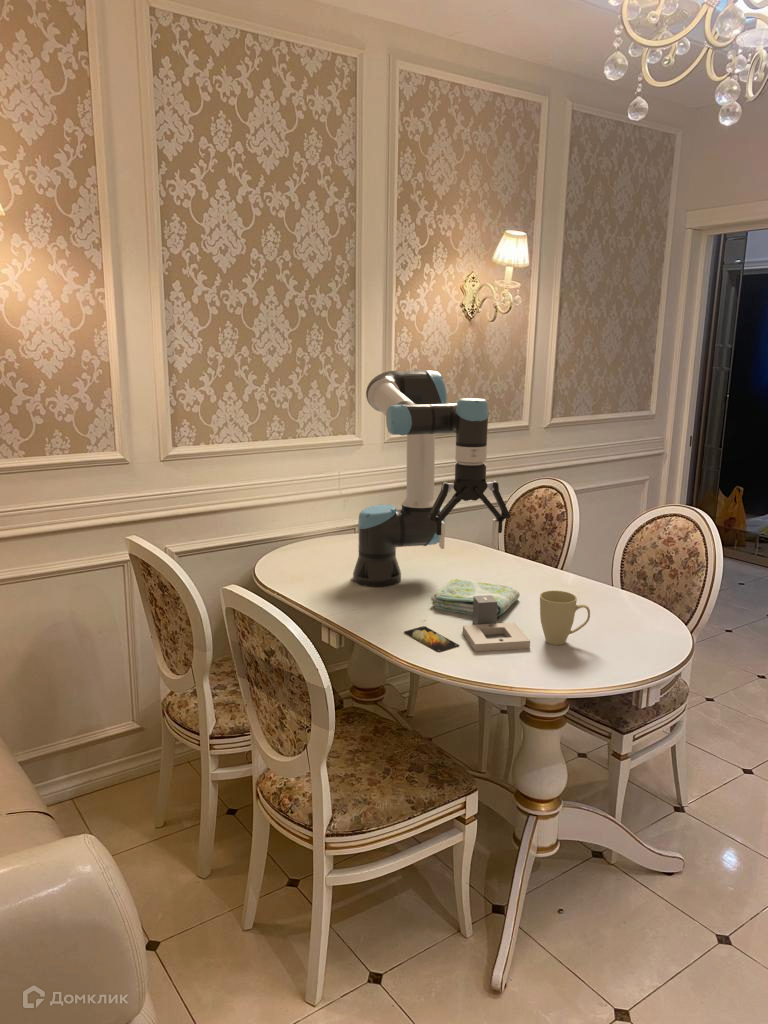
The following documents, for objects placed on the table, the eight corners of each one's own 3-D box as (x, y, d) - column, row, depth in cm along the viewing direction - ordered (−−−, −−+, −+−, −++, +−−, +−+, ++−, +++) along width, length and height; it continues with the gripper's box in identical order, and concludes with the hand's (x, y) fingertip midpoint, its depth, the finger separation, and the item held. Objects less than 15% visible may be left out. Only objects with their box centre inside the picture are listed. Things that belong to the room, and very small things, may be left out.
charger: (472, 622, 201) (473, 595, 199) (490, 621, 201) (491, 594, 200) (477, 629, 196) (478, 602, 194) (496, 628, 197) (497, 601, 195)
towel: (452, 589, 227) (452, 574, 226) (520, 601, 218) (520, 584, 217) (429, 609, 211) (429, 592, 210) (501, 622, 202) (502, 604, 201)
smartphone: (438, 652, 182) (402, 631, 194) (438, 654, 182) (402, 633, 194) (461, 645, 186) (424, 625, 198) (460, 648, 186) (424, 628, 198)
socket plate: (462, 632, 194) (462, 624, 193) (514, 629, 196) (514, 621, 195) (475, 651, 182) (475, 643, 182) (529, 648, 184) (530, 640, 184)
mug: (553, 652, 182) (556, 606, 179) (530, 637, 191) (532, 593, 188) (589, 645, 186) (593, 600, 183) (565, 630, 195) (568, 587, 192)
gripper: (423, 466, 176) (421, 552, 181) (525, 464, 179) (521, 548, 184) (417, 461, 183) (416, 543, 188) (515, 459, 187) (512, 540, 192)
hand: (468, 546), depth 186 cm, fingers open, 13 cm apart
